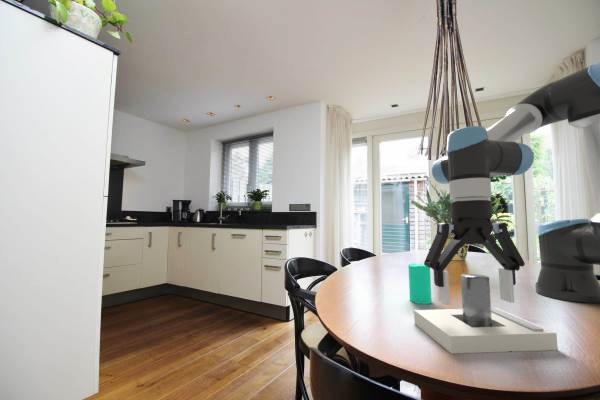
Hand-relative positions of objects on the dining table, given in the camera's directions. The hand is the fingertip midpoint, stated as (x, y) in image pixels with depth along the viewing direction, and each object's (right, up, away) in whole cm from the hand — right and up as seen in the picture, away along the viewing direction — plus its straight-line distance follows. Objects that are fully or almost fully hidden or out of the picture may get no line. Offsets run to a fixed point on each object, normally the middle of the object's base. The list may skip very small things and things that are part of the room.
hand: (475, 301), depth 56 cm
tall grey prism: (0, -7, 0) cm, 7 cm away
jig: (0, -7, 0) cm, 7 cm away
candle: (-1, -9, +23) cm, 25 cm away
